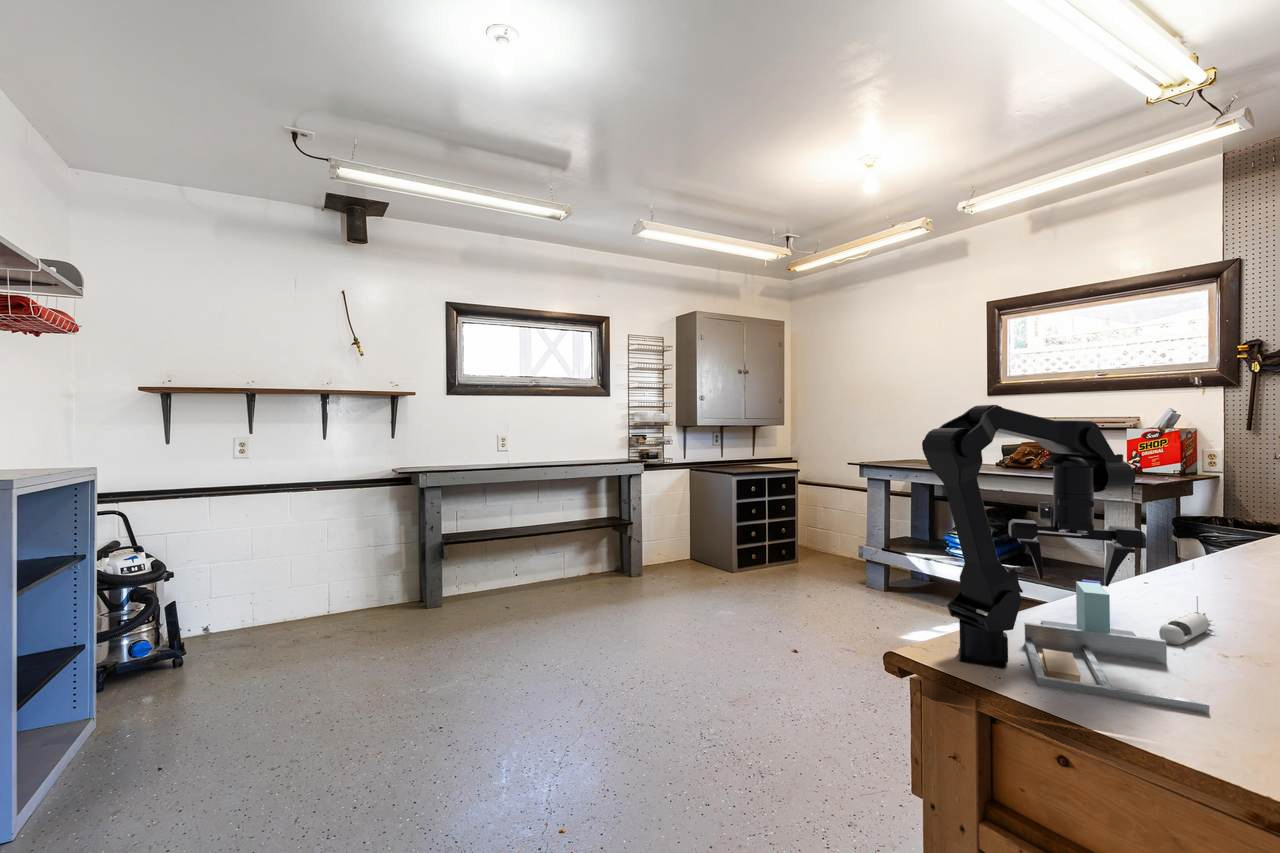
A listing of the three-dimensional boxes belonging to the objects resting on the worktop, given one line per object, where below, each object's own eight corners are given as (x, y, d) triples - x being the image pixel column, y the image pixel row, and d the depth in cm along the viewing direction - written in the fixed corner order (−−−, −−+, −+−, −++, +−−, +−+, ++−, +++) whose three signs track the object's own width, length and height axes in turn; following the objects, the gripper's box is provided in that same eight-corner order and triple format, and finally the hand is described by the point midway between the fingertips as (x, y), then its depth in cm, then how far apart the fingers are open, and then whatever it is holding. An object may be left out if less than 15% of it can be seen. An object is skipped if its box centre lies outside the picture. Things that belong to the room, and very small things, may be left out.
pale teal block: (1085, 643, 102) (1084, 592, 102) (1076, 629, 109) (1076, 581, 109) (1110, 646, 101) (1109, 594, 101) (1100, 632, 108) (1099, 583, 108)
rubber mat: (1051, 646, 102) (1051, 644, 102) (1041, 622, 115) (1041, 620, 115) (1155, 661, 96) (1154, 658, 96) (1132, 634, 108) (1132, 631, 108)
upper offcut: (1047, 677, 89) (1047, 670, 89) (1042, 655, 97) (1042, 648, 97) (1080, 683, 87) (1080, 675, 87) (1072, 660, 95) (1072, 653, 95)
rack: (1037, 687, 87) (1037, 660, 87) (1024, 644, 103) (1024, 622, 103) (1209, 716, 78) (1208, 686, 78) (1164, 664, 94) (1164, 639, 94)
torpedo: (1186, 651, 100) (1186, 613, 100) (1151, 642, 104) (1151, 606, 104) (1222, 631, 109) (1221, 596, 109) (1188, 624, 113) (1188, 590, 114)
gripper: (1128, 491, 104) (1128, 579, 104) (1006, 486, 113) (1005, 566, 113) (1147, 498, 94) (1147, 594, 94) (1011, 491, 103) (1011, 579, 103)
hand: (1072, 582), depth 101 cm, fingers open, 9 cm apart
